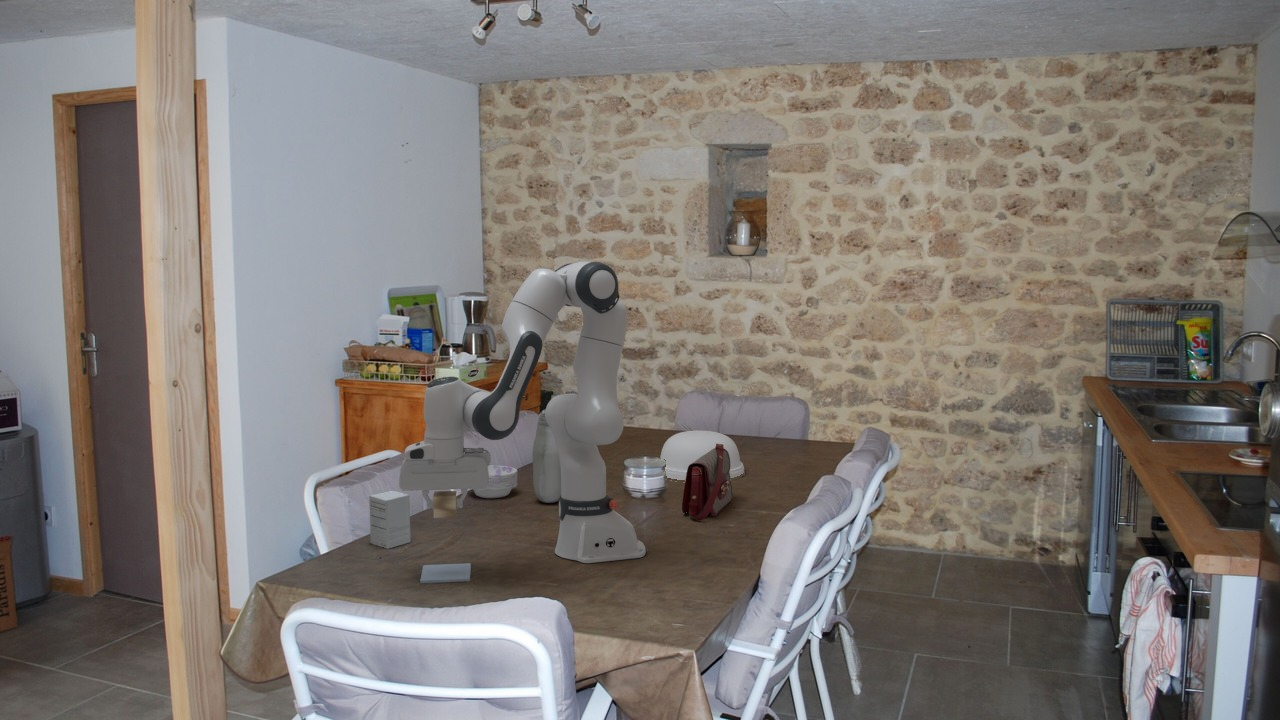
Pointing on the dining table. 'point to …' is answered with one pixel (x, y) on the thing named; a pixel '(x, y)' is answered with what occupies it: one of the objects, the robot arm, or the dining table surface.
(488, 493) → the paper bowls
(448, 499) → the beech cube
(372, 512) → the supplement box
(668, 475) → the dome cover
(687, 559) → the dining table surface
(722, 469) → the handbag
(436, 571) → the coaster
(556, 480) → the glass bottle
